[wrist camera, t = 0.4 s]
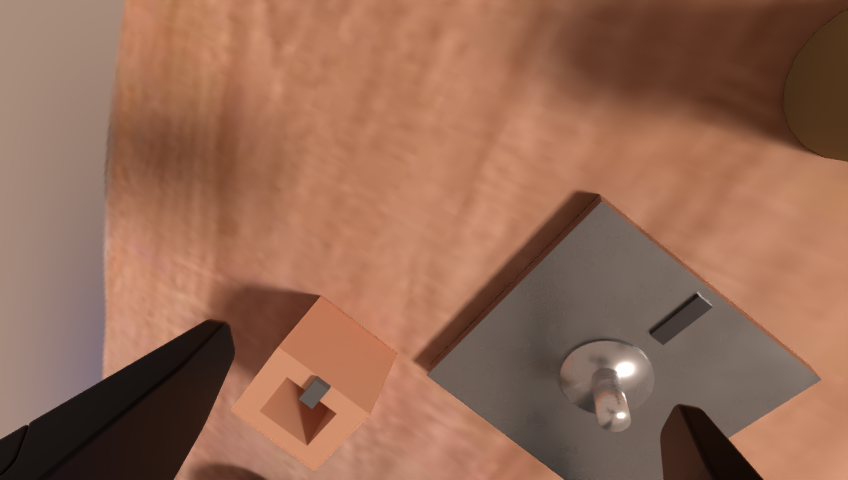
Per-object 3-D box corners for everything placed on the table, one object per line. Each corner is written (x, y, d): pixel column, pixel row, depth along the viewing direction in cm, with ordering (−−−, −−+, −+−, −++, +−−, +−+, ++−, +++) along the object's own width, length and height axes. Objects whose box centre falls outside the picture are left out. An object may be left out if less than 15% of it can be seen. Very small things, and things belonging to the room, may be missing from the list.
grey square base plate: (606, 497, 29) (616, 564, 25) (430, 364, 28) (414, 413, 24) (810, 366, 23) (860, 427, 20) (599, 194, 22) (611, 224, 19)
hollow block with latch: (348, 406, 30) (312, 476, 25) (277, 353, 30) (226, 414, 25) (397, 353, 28) (367, 419, 23) (320, 296, 28) (274, 350, 23)
